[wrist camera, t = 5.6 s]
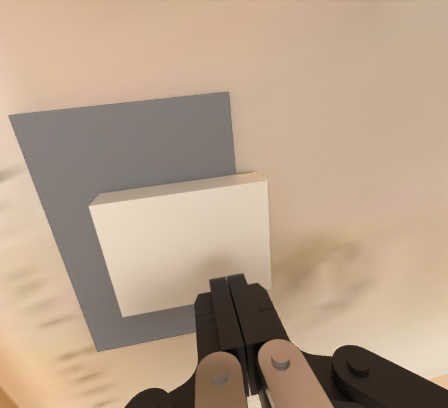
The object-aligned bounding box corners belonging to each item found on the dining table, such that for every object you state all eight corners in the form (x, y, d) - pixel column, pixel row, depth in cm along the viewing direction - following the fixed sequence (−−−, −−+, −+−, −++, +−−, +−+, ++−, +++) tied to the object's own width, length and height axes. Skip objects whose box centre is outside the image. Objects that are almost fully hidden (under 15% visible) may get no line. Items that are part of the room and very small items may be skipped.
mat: (15, 114, 14) (8, 115, 13) (226, 92, 15) (228, 91, 14) (99, 344, 19) (97, 352, 19) (247, 315, 21) (248, 321, 20)
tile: (255, 170, 16) (101, 191, 15) (267, 180, 14) (88, 206, 13) (261, 268, 19) (129, 292, 18) (271, 289, 17) (122, 317, 16)
